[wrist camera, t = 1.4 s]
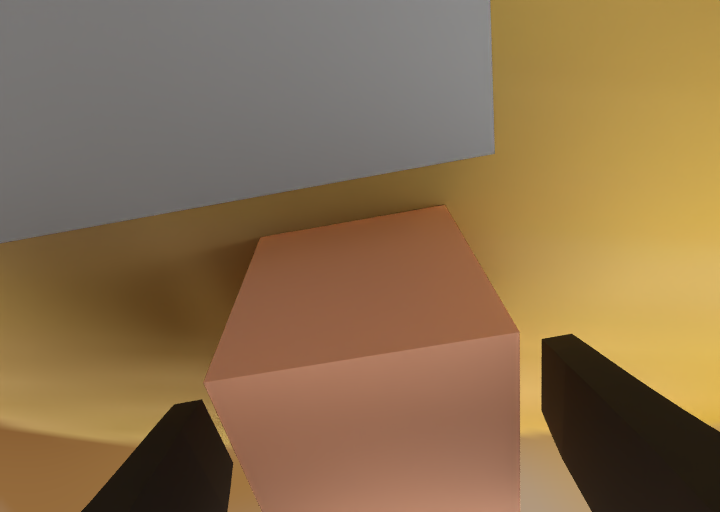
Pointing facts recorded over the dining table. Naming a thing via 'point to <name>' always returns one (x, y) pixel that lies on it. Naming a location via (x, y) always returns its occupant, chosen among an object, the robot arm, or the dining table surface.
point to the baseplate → (227, 101)
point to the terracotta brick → (371, 372)
